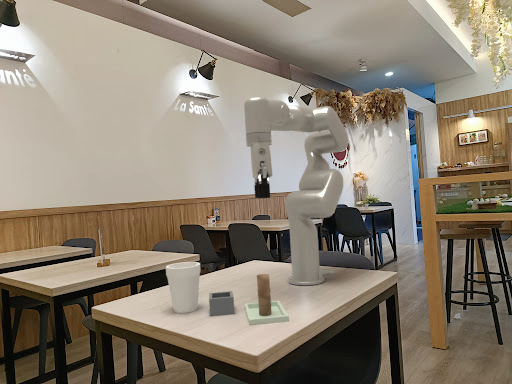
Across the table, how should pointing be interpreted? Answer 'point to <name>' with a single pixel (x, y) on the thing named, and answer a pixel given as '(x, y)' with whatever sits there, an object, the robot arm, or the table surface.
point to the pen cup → (221, 303)
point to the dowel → (264, 294)
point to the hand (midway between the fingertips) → (262, 197)
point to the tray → (276, 316)
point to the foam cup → (184, 285)
